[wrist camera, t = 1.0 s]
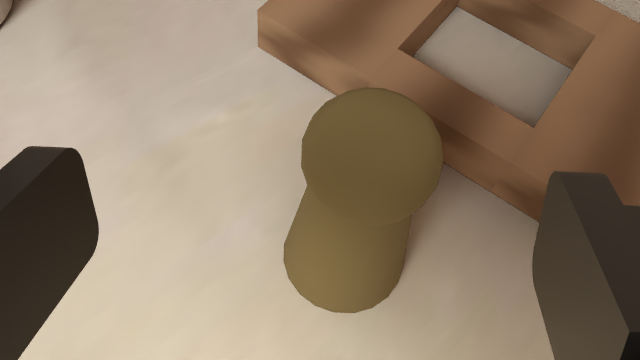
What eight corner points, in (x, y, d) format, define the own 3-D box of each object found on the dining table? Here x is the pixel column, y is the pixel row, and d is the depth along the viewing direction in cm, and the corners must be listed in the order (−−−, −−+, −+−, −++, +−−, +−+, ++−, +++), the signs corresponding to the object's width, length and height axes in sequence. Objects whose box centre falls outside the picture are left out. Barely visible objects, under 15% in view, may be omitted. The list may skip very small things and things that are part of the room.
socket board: (258, 46, 36) (257, 9, 34) (382, -66, 43) (389, -104, 40) (622, 274, 31) (655, 250, 28) (704, 105, 37) (737, 73, 34)
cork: (408, 212, 31) (468, 77, 22) (396, 323, 28) (462, 221, 19) (295, 192, 32) (307, 48, 22) (272, 300, 28) (274, 187, 19)
